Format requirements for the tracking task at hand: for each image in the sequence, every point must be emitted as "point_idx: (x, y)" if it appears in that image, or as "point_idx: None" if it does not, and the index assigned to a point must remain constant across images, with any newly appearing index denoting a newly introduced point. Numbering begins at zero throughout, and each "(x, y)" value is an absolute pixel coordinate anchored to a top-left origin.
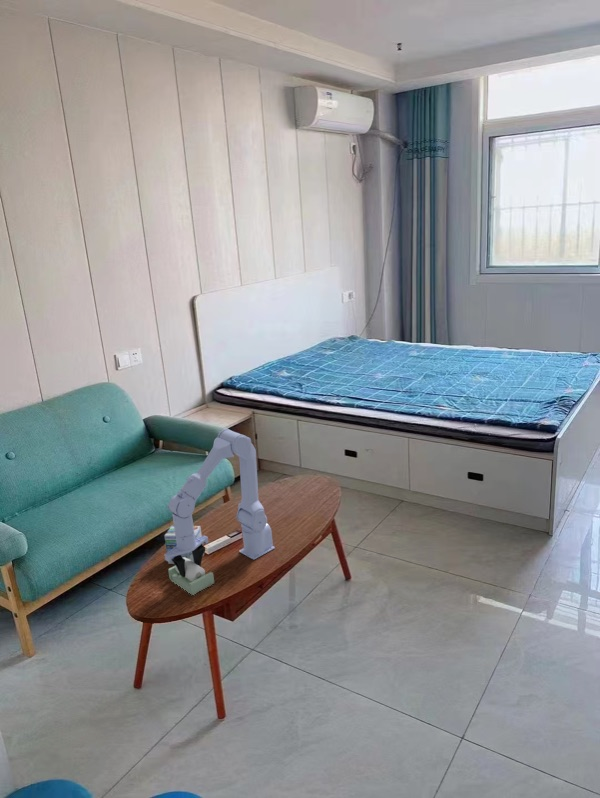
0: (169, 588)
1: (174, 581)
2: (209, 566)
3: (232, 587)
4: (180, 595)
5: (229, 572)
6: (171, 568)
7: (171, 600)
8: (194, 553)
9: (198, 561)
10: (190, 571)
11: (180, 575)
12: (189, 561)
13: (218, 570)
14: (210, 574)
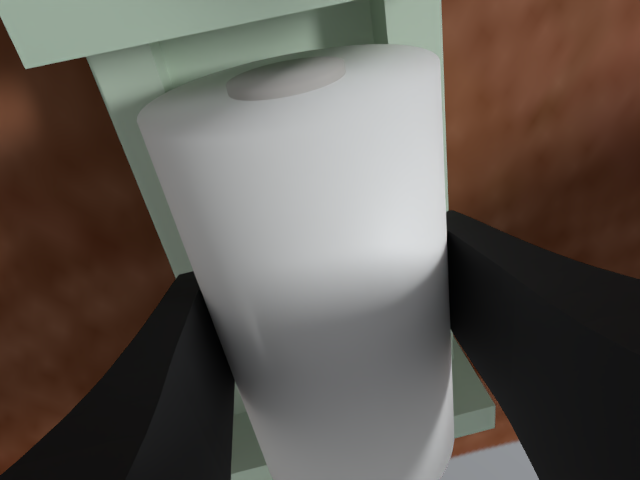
0: (39, 172)
1: (115, 125)
2: (602, 30)
3: (506, 418)
4: (133, 336)
5: (628, 255)
6: (69, 28)
7: (34, 361)
8: (573, 407)
9: (494, 382)
10: (289, 476)
11: (227, 40)
12: (389, 322)
13: (599, 170)
14: (462, 434)
